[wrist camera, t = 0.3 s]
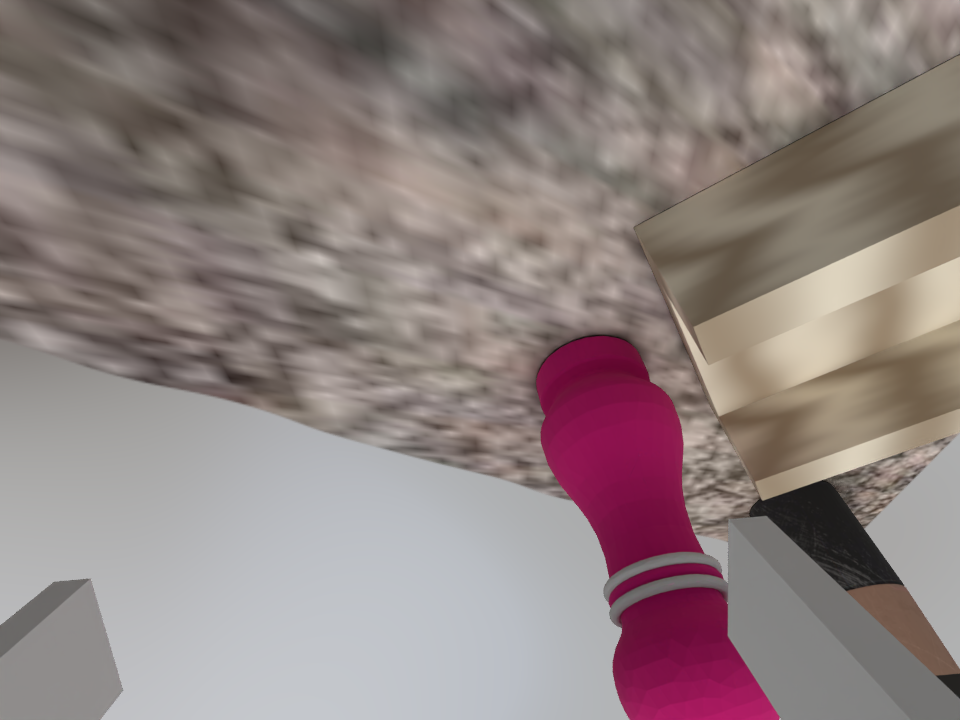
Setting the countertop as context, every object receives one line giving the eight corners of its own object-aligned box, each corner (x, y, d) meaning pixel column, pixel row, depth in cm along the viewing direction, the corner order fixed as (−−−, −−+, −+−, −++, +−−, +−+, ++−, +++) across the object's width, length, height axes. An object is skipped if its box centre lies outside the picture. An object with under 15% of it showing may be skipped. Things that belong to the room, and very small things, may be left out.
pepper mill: (668, 331, 30) (916, 784, 16) (622, 414, 35) (779, 816, 20) (545, 323, 28) (695, 816, 14) (515, 411, 33) (604, 842, 19)
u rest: (710, 406, 35) (762, 500, 30) (633, 227, 25) (693, 327, 20) (1006, 285, 30) (1126, 374, 25) (1066, -2, 20) (1290, 54, 15)
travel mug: (737, 530, 49) (875, 814, 35) (758, 486, 43) (933, 801, 29) (819, 517, 49) (991, 796, 35) (851, 471, 43) (1070, 780, 29)
